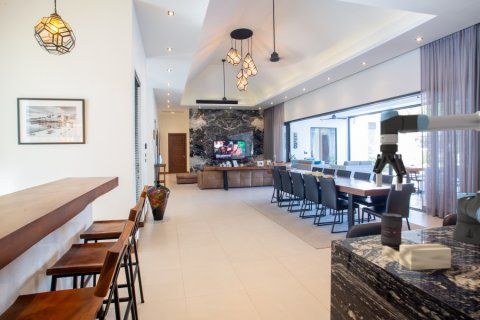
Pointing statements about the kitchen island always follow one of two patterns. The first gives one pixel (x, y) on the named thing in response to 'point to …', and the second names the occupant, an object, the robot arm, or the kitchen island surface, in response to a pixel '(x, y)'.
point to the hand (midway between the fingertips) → (388, 188)
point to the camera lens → (391, 230)
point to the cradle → (421, 256)
